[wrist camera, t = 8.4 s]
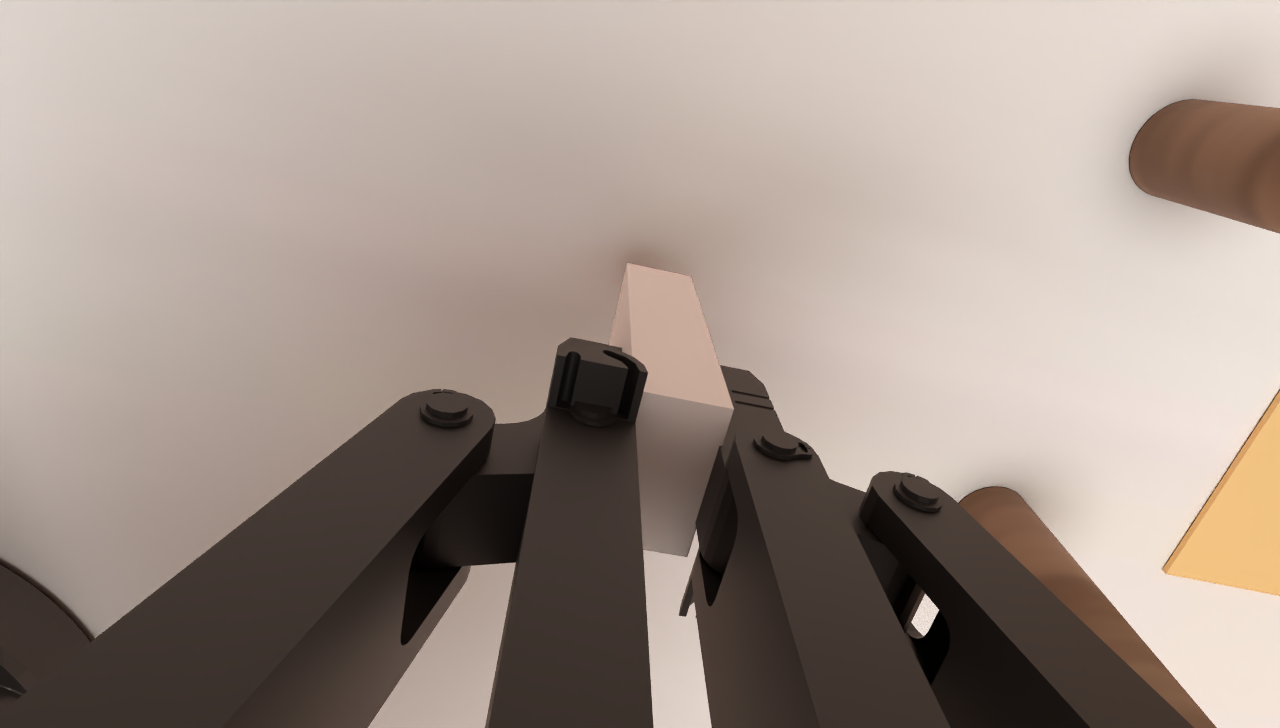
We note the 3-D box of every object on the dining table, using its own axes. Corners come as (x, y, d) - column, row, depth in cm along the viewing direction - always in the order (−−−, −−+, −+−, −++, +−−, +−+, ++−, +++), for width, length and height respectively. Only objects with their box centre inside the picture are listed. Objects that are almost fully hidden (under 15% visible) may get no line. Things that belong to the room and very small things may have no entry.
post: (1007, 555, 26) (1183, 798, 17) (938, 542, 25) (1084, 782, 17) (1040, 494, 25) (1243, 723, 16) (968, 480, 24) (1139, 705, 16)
